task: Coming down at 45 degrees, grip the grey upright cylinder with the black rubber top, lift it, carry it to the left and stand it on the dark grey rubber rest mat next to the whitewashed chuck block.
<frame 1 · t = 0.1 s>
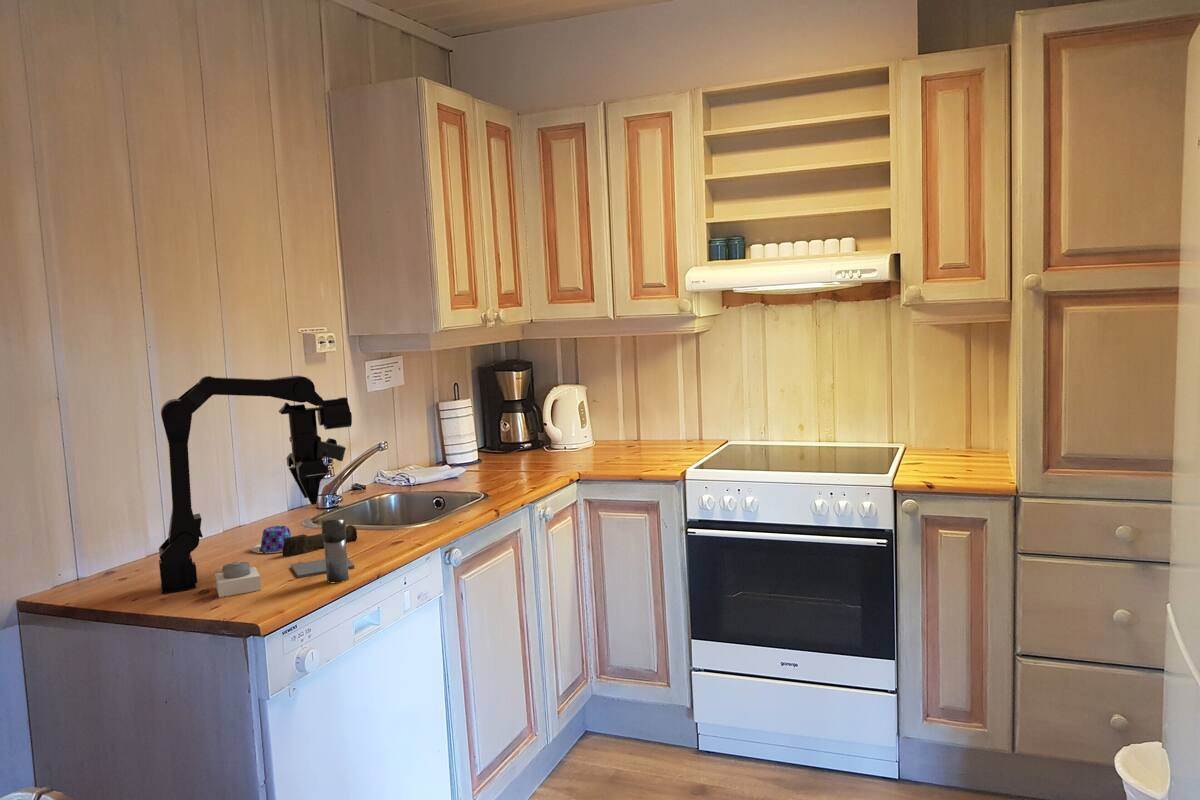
hand: (310, 501, 201), 15 cm above the worktop, tool pointing down, fingers open, 9 cm apart
chuck block: (238, 588, 186), on the worktop
rest mat: (322, 567, 199), on the worktop
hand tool: (321, 550, 216), on the worktop
grey upright cylinder: (338, 580, 189), on the worktop
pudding: (277, 549, 219), on the worktop
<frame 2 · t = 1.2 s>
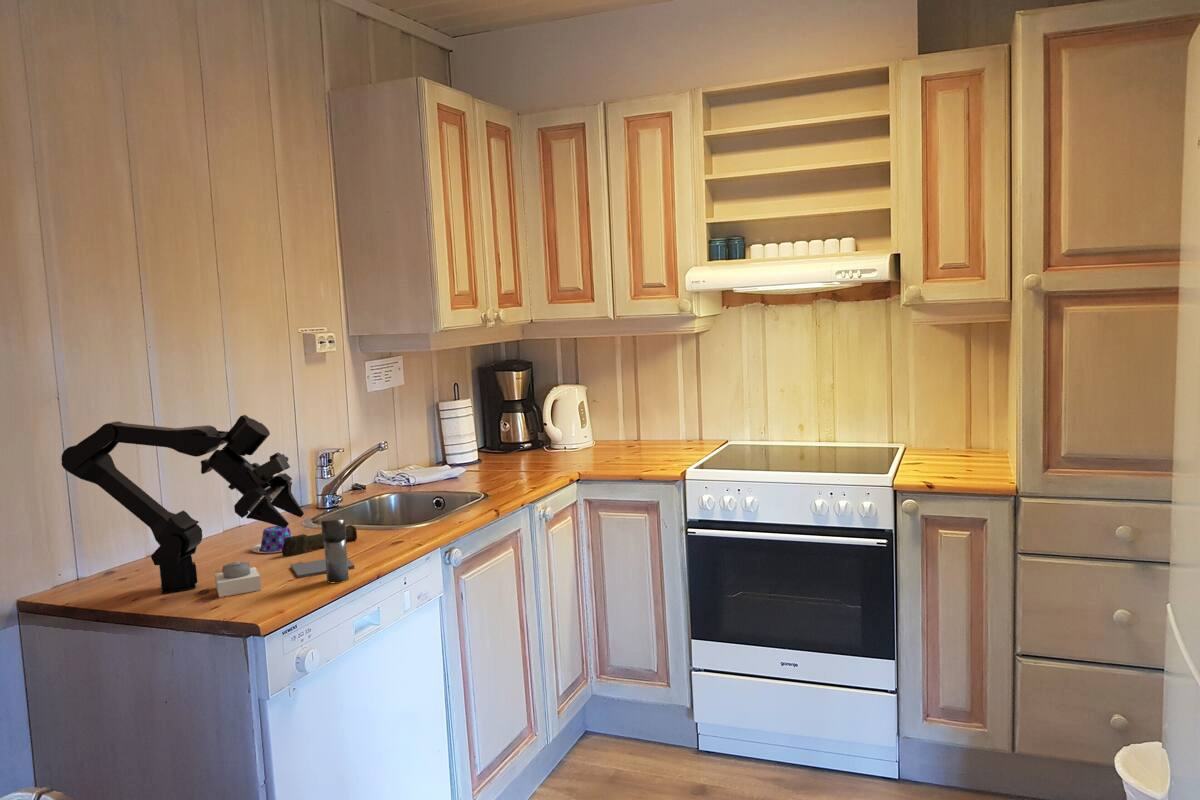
hand: (295, 520, 188), 13 cm above the worktop, tool tilted 45°, fingers open, 9 cm apart
nothing on the worktop moved.
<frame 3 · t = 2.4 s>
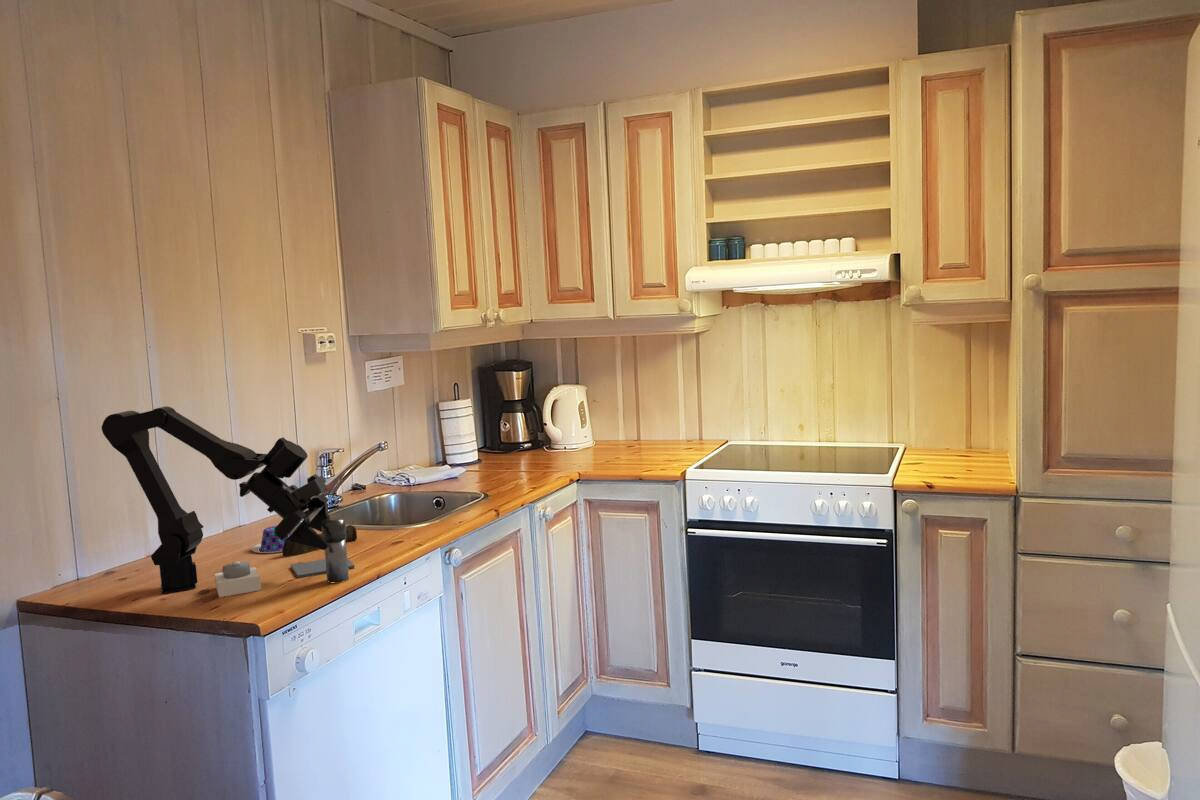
hand: (333, 542, 188), 8 cm above the worktop, tool tilted 45°, fingers open, 9 cm apart
nothing on the worktop moved.
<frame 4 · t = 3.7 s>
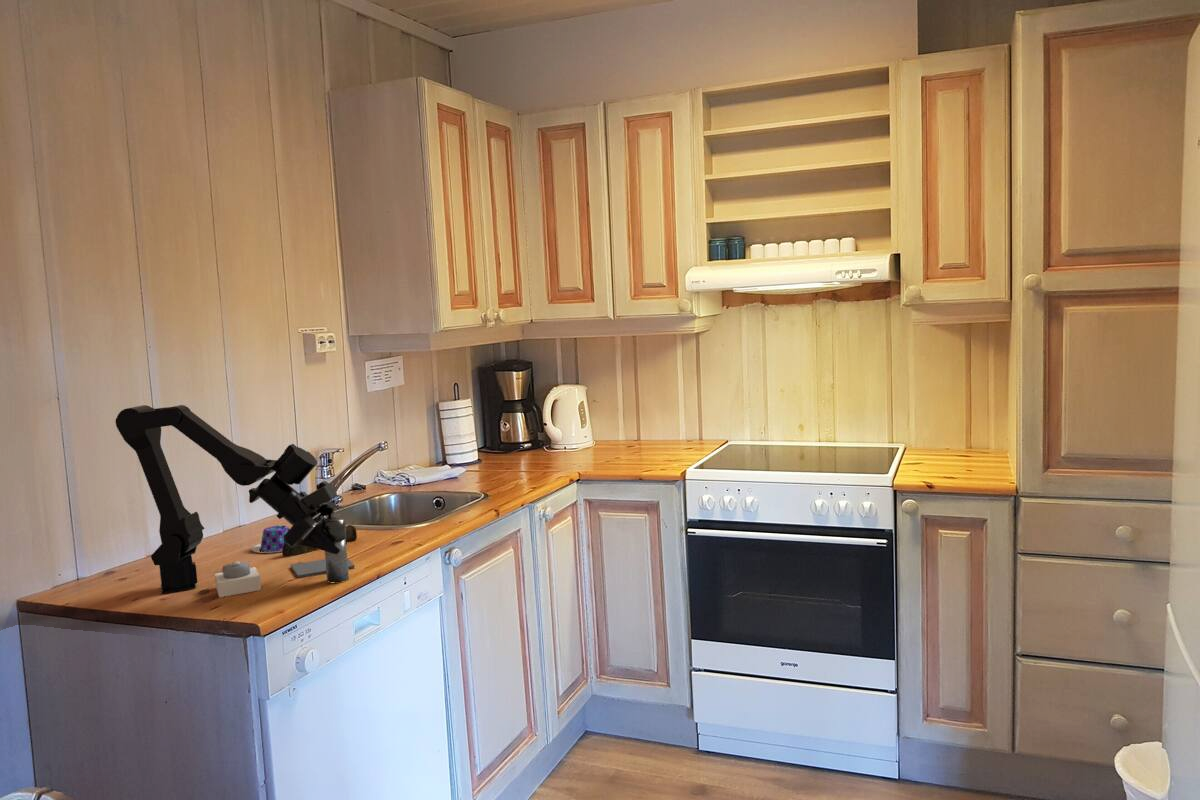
hand: (342, 549, 188), 7 cm above the worktop, tool tilted 45°, fingers closed on grey upright cylinder, 4 cm apart
grey upright cylinder: (338, 580, 189), on the worktop, touching gripper
everything else where it was.
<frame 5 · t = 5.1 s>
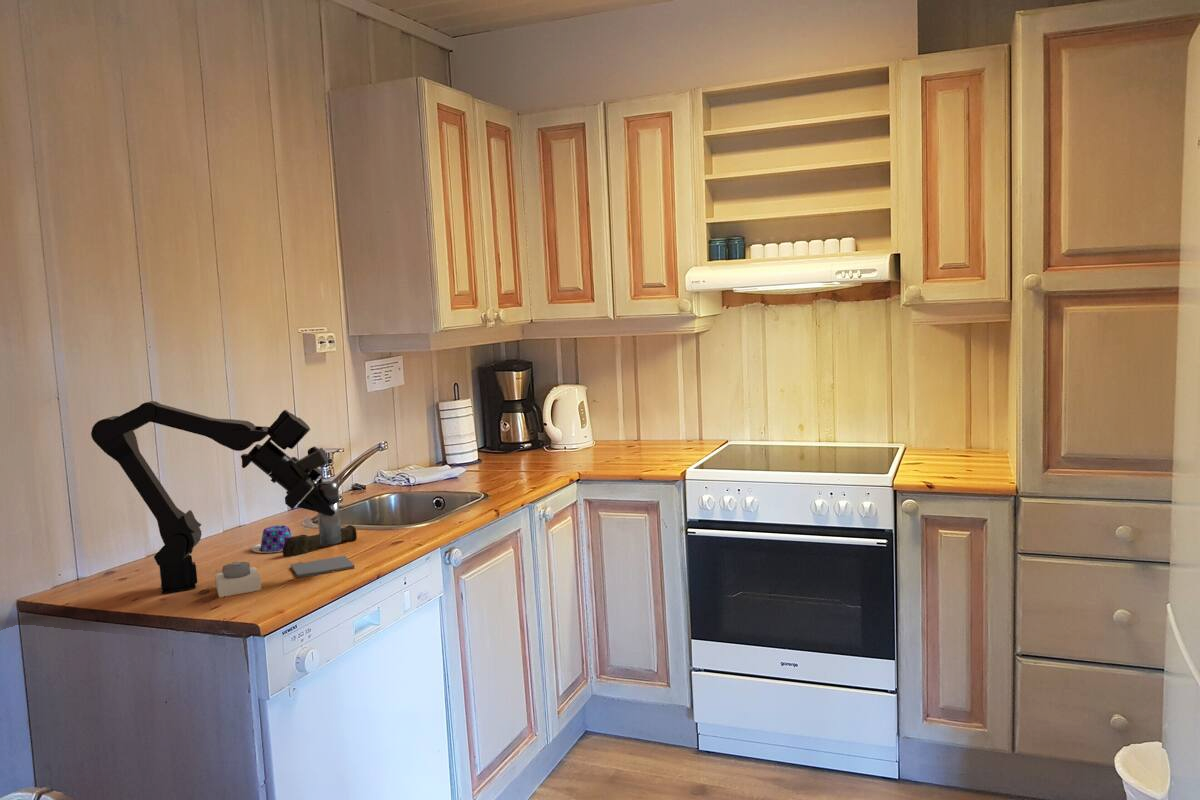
hand: (334, 511, 194), 13 cm above the worktop, tool tilted 45°, fingers closed on grey upright cylinder, 4 cm apart
grey upright cylinder: (330, 542, 194), point 7 cm above the worktop, touching gripper
everything else where it was.
when the fingers open (8 cm above the worktop, at t = 6.7 s): grey upright cylinder drops 1 cm, resting on rest mat.
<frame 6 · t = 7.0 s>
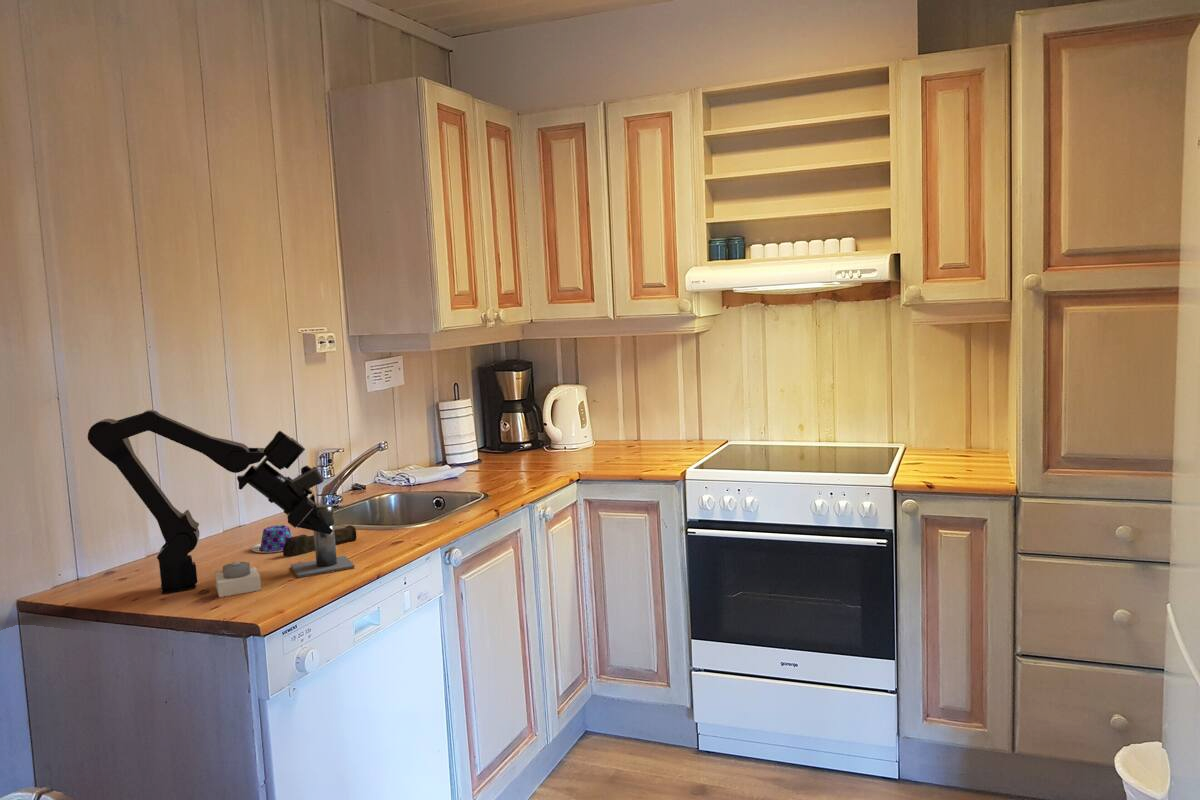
hand: (330, 528, 199), 9 cm above the worktop, tool tilted 45°, fingers open, 8 cm apart
grey upright cylinder: (326, 564, 199), point 1 cm above the worktop, touching rest mat
everything else where it was.
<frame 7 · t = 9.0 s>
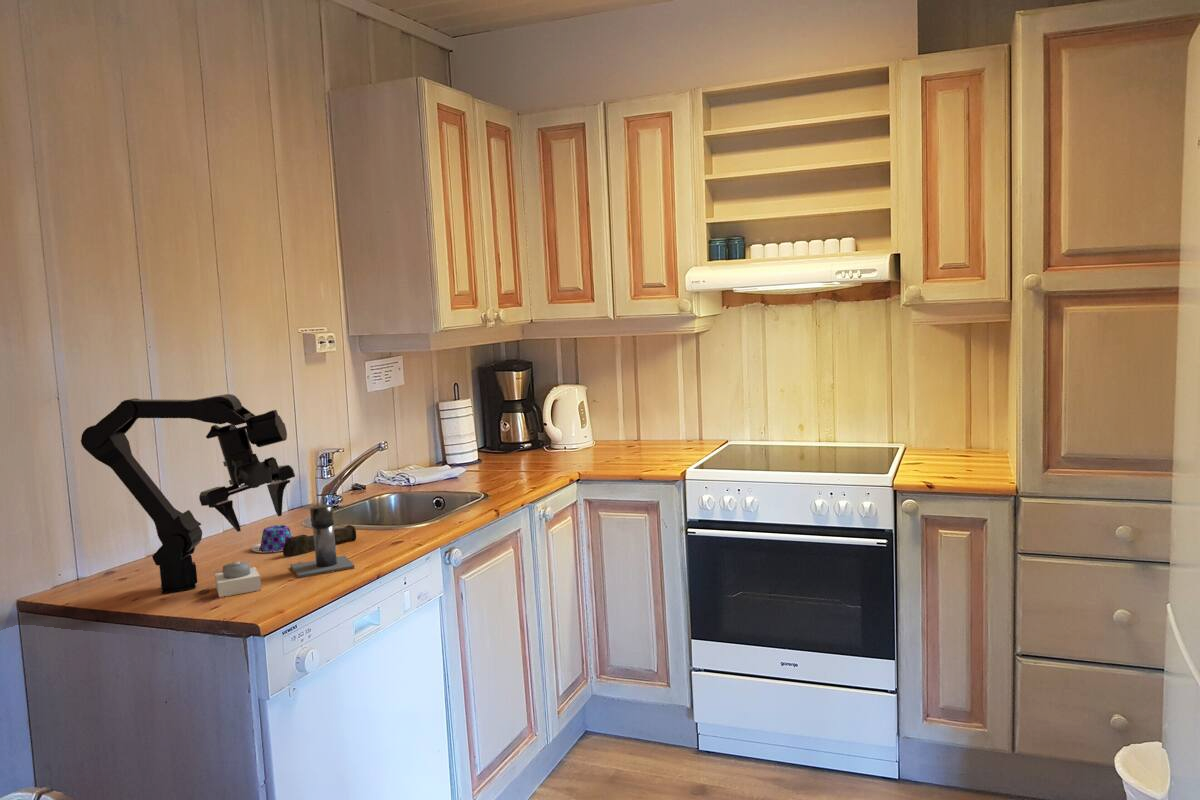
hand: (259, 523, 189), 13 cm above the worktop, tool pointing down, fingers open, 9 cm apart
nothing on the worktop moved.
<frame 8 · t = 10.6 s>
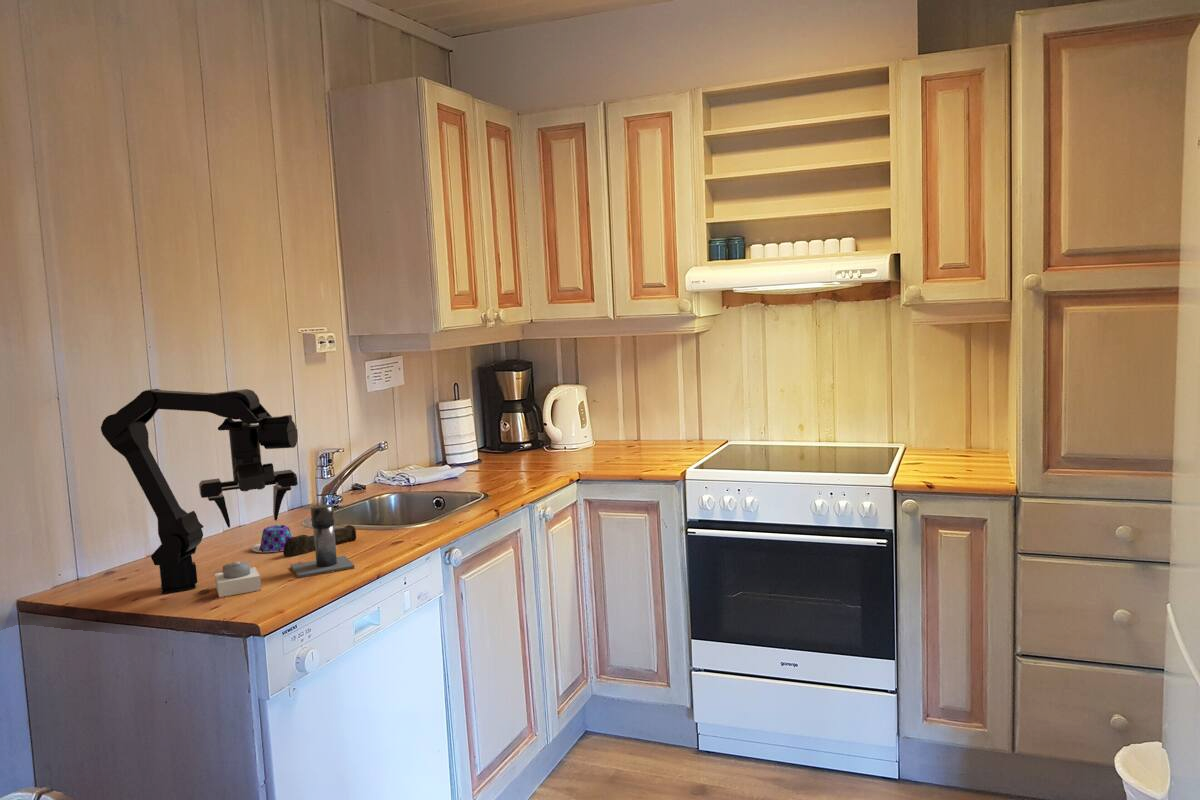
hand: (252, 523, 188), 13 cm above the worktop, tool pointing down, fingers open, 9 cm apart
nothing on the worktop moved.
at the end: grey upright cylinder inside the target area on the rest mat (1.0 cm from its centre), point 0.6 cm above the rest mat's base; grey upright cylinder tilted 1°; the gripper is holding nothing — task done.
